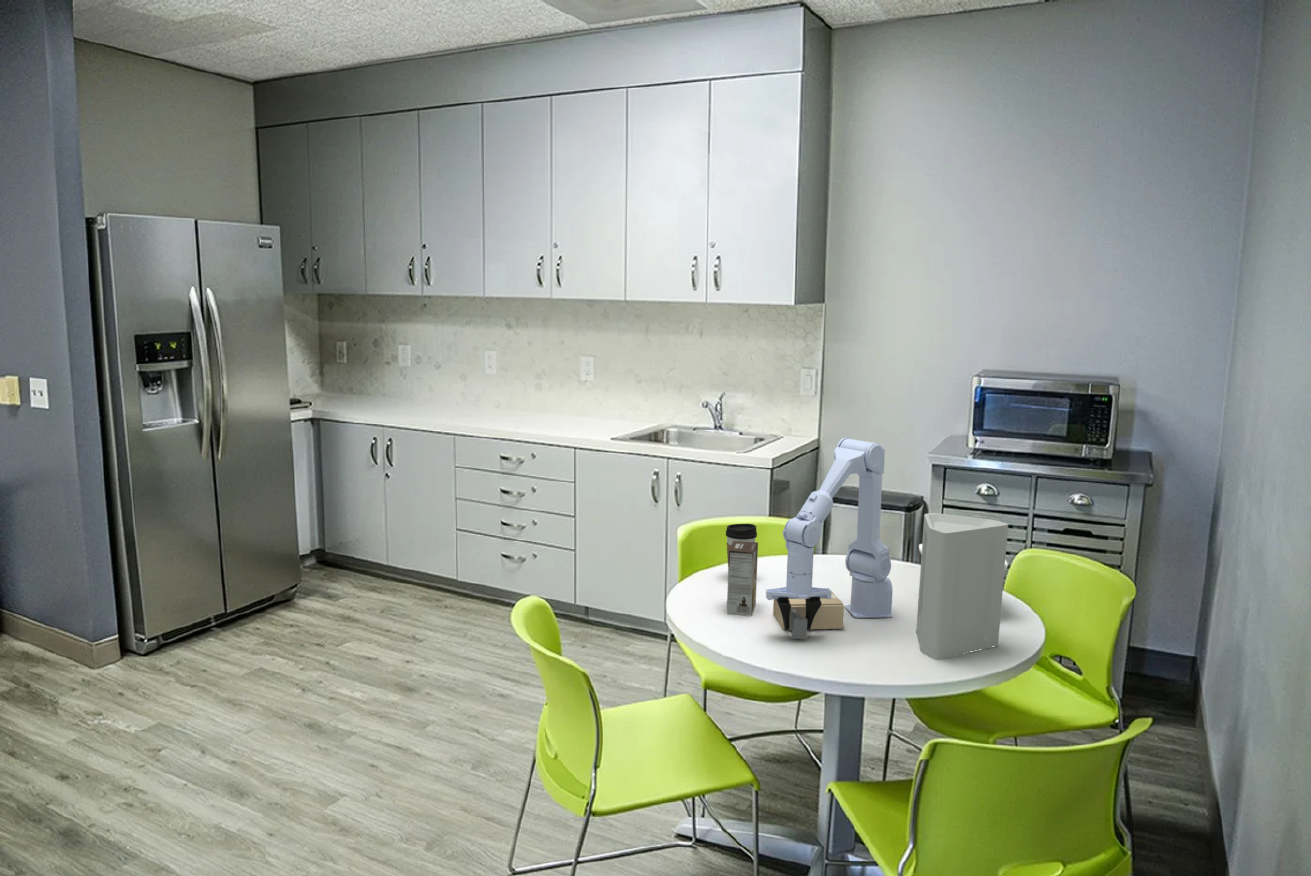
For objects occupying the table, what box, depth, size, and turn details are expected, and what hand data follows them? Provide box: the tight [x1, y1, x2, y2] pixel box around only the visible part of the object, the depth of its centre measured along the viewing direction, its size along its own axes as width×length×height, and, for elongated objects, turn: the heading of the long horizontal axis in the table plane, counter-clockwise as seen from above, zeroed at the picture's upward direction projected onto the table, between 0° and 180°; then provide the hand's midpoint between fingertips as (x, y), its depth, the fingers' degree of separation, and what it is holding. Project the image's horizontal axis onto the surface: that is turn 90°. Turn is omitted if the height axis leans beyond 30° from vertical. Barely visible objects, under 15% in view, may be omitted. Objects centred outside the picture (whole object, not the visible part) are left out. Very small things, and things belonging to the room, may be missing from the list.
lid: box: [782, 604, 845, 640], centre depth 211 cm, size 14×7×6 cm, turn 96°
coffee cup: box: [725, 523, 758, 563], centre depth 250 cm, size 8×8×15 cm
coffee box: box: [726, 541, 759, 617], centre depth 227 cm, size 9×6×16 cm
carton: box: [772, 590, 844, 630], centre depth 220 cm, size 14×10×6 cm
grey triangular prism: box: [915, 512, 1009, 660], centre depth 207 cm, size 19×15×28 cm
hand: (797, 629), depth 210 cm, fingers open, 4 cm apart
